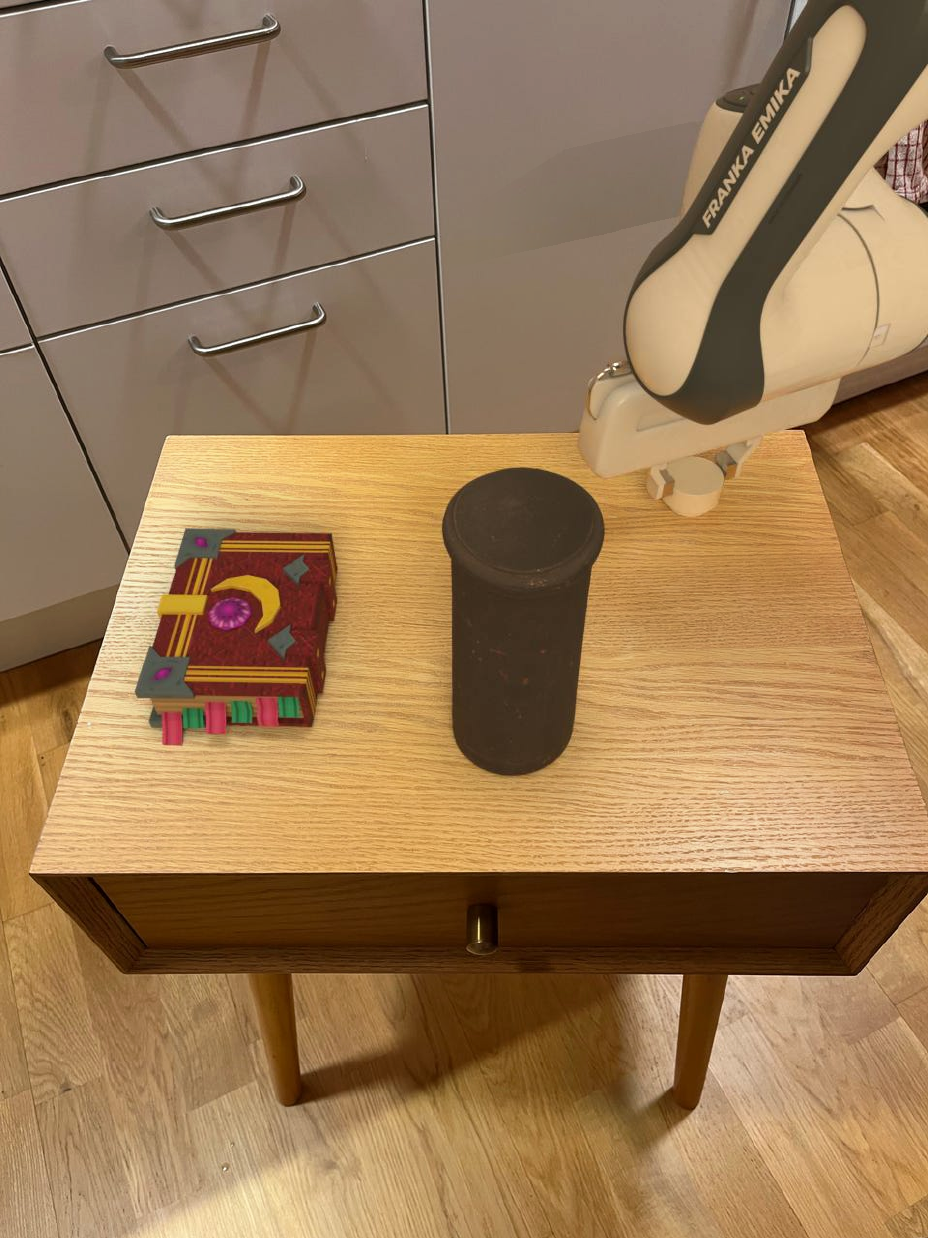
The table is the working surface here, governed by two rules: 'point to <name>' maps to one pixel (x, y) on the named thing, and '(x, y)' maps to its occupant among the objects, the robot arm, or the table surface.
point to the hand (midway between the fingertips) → (692, 483)
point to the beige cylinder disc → (694, 486)
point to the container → (518, 613)
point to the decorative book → (241, 632)
